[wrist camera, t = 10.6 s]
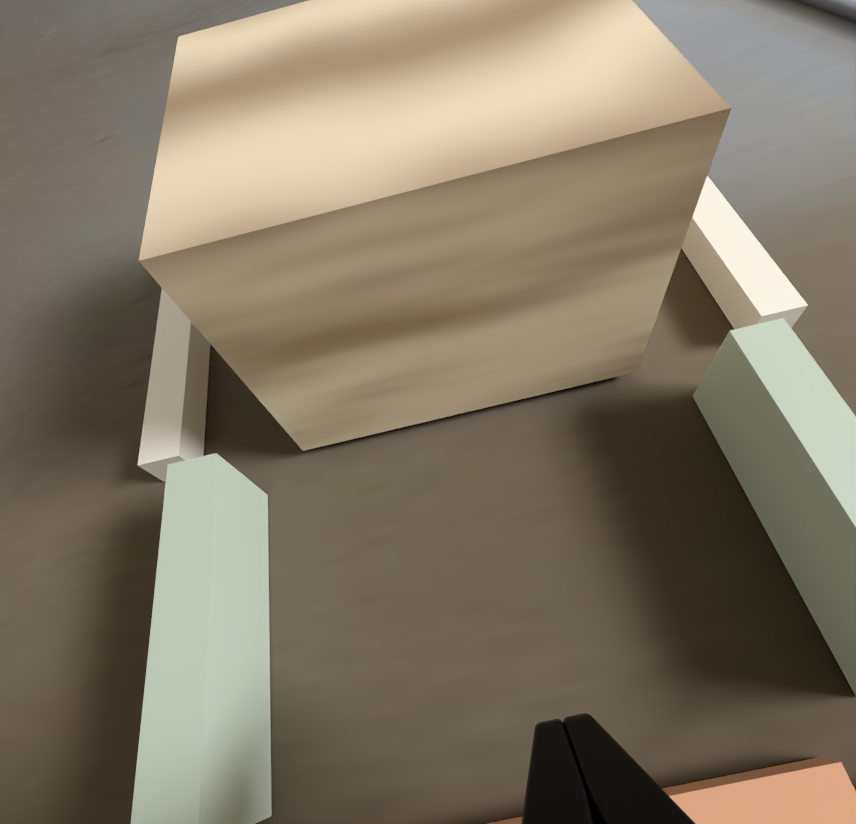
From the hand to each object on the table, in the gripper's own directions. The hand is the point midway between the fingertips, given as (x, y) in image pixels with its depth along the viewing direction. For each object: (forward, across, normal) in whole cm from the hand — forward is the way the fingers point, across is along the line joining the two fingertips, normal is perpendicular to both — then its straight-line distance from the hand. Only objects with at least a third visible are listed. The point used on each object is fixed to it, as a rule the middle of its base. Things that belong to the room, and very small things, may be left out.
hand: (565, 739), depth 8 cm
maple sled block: (+14, 0, -6) cm, 16 cm away
